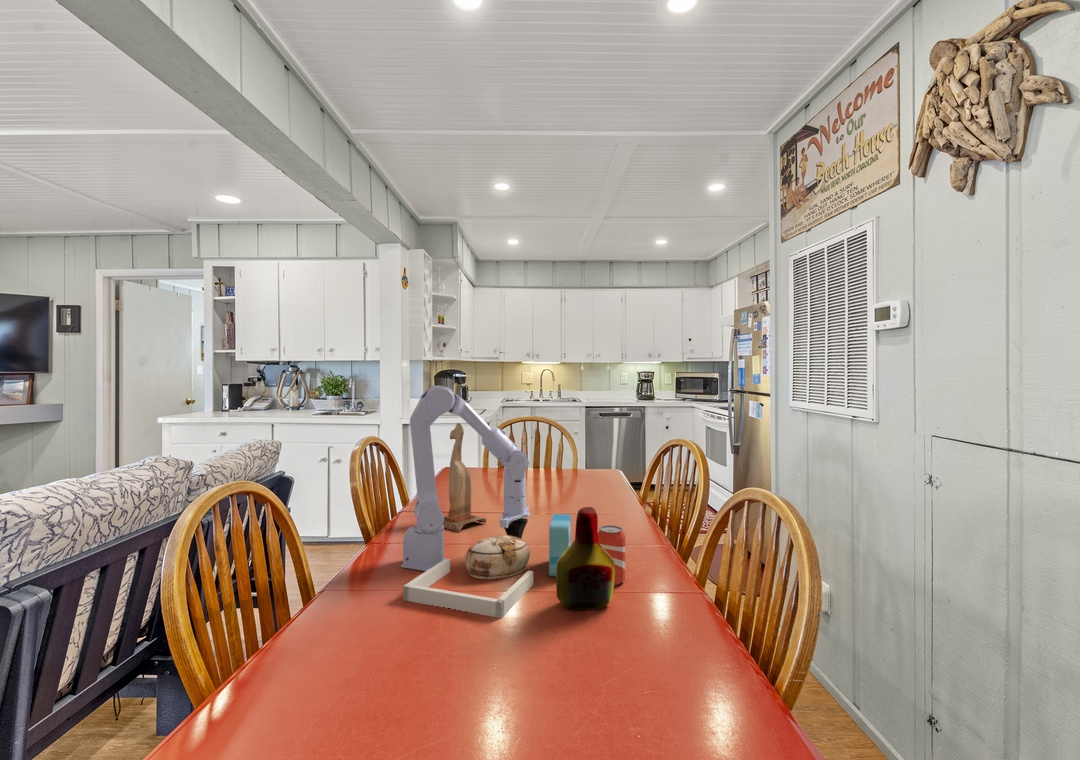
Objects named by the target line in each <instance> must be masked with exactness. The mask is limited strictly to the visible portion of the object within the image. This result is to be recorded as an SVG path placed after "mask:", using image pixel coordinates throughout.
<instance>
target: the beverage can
mask: <svg viewBox="0 0 1080 760" xmlns="http://www.w3.org/2000/svg"><path fill="white" fill-rule="evenodd" d="M598 539H599V543H600V545H601V546H602V547H603V548H604V549H605V550H606V551H607V552H608V553H609V555H610V556H611V557H612V559H613V562H614V567H615V577H614V586H618V585H620V584H621V583H623V582H624V581H625V580H626V535H625V533H624V530H623V528H622V526H618V525H613V524H612V525H609V524H608V525H607V524H606V525H602V526H600V527H599V530H598Z"/></svg>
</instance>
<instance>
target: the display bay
mask: <svg viewBox="0 0 1080 760" xmlns="http://www.w3.org/2000/svg"><path fill="white" fill-rule="evenodd" d="M450 559H451V558H446V559H444V560H443V561H441V562H440V563H438V564H436V565H435V566H433V567H432V568H430V569H429V570H427V571H423V573H421V574H420V575H418V576H416V577H415V578H413V579H412V580H410V581H409V582H407V583H406V584H404V585H403V589H402V590H403V592H402V593H403V597H402V598H403V601H405V602H410V603H415V604H421V605H426V604H427V606H432V605H433V606H432V607H437V606H439V607H438V608H443V607H445V608H444V609H448V608H451V609H450V610H454V609H456V610H455V611H459V610H461V611H460V612H465V611H468V612H467V613H470V612H472V613H471V614H476V613H477V615H483V616H487V617H492V618H499V619H502V618H504V616H506V614H507V613H508V612H509V611H510V609H512V608H513V607H514V606H515V605H516V603H518V601H519V600H520V599H521V598H522V597H523V596H524V595H525V594H526V593H527V592H528V591H529V590H530V589H531V588H532V587H533V585H534V571H533V570H527V571H526V572H525V573H524V574H523V575H522V576H521V577H520V578H519V579H517V581H515V583H513V585H512V586H510V587H509V588H508V590H506V591H505V592H504V593H503V594H502V595H501V596H500V597H499V598H492V597H487V596H482V595H475V594H470V593H464V592H458V591H452V590H451V591H450V590H446V589H441V588H435V587H431V586H432V585H433V584H435V583H437V582H438V581H439V580H441V579H443V577H445V576H446V575H448V574H449V573H451V561H450Z"/></svg>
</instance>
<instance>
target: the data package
mask: <svg viewBox="0 0 1080 760" xmlns="http://www.w3.org/2000/svg"><path fill="white" fill-rule="evenodd" d="M548 528H549V529H548V574H549V577H555V578H556V567H557V562H558V560H559V558H560V557H561V555H562V554H563V553H564V552H565V551H566V550H567V548H568V547H570V546H571V545H572V514H560V513H558V514H557V513H553V514H552V516H551V519H550V524H549V526H548Z"/></svg>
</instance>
